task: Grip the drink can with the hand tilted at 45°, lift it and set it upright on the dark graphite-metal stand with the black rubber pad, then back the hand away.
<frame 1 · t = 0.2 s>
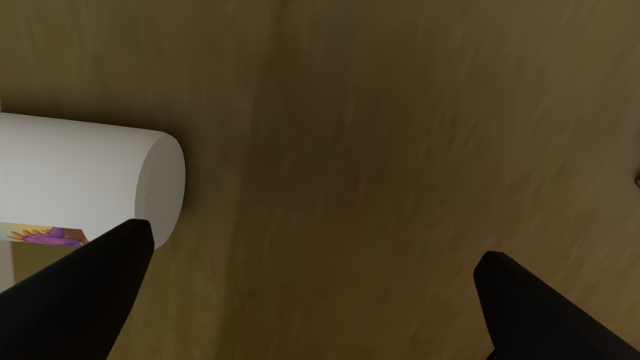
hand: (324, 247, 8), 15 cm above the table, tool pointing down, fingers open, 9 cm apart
milk bottle: (170, 192, 19), point 4 cm above the table
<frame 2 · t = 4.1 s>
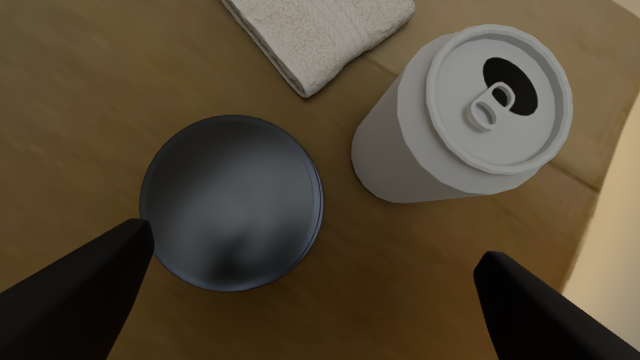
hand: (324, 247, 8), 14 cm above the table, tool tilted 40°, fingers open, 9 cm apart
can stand: (240, 202, 22), on the table
can: (394, 156, 24), on the table
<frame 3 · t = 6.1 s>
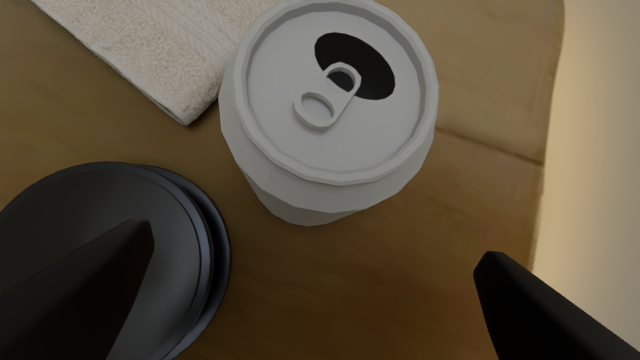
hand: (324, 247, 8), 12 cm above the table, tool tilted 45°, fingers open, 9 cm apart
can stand: (128, 264, 18), on the table
can: (307, 171, 20), on the table
washcloth: (156, 0, 22), on the table
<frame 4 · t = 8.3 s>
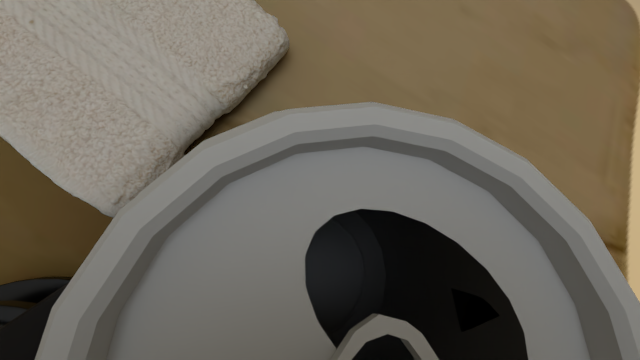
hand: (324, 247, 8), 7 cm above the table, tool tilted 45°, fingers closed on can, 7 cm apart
can: (303, 272, 14), on the table, touching gripper
washcloth: (92, 27, 16), on the table
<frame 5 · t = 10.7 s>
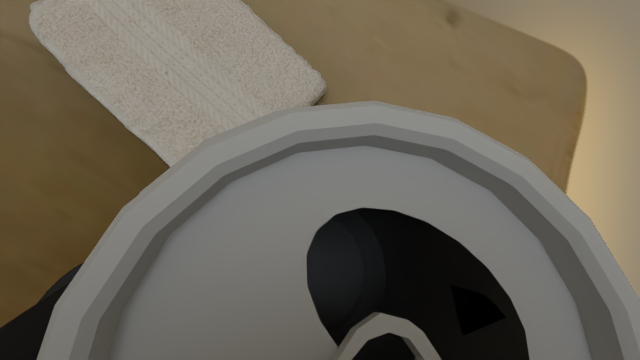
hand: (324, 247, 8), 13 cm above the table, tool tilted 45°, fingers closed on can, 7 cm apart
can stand: (154, 334, 19), on the table
can: (303, 272, 14), point 6 cm above the table, touching gripper
washcloth: (190, 69, 22), on the table
when the fingers open (10 cm above the table, at t = 13.6 s): can stays where it is, resting on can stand.
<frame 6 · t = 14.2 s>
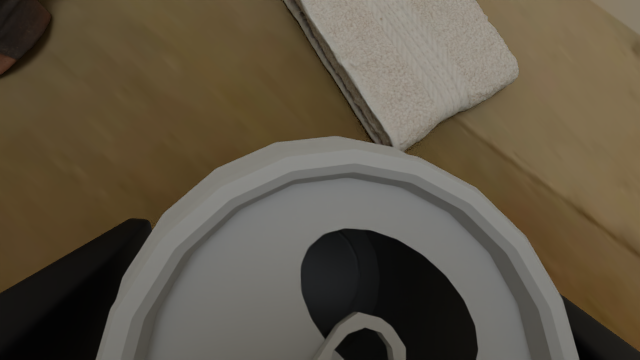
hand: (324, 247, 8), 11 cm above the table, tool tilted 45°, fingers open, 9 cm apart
can: (302, 274, 15), point 3 cm above the table, touching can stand
washcloth: (381, 26, 23), on the table
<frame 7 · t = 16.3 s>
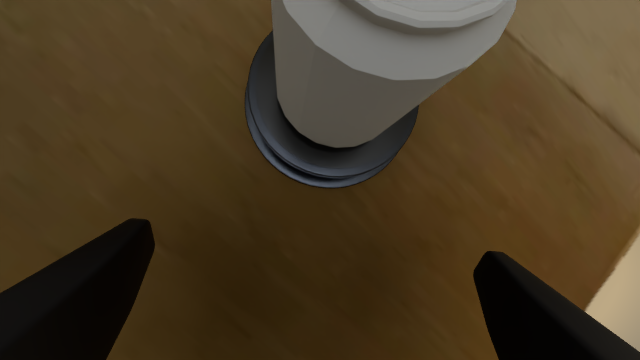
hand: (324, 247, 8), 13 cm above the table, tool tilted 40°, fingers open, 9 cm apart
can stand: (329, 107, 22), on the table
can: (336, 92, 19), point 3 cm above the table, touching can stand
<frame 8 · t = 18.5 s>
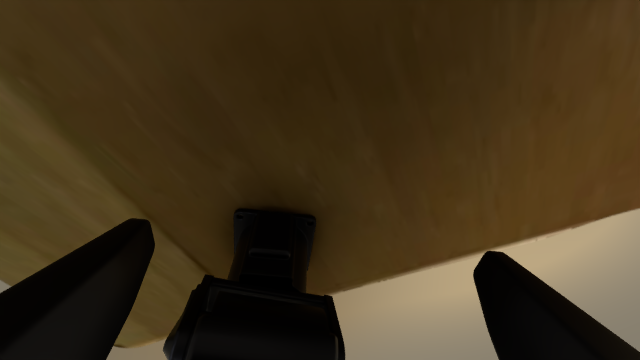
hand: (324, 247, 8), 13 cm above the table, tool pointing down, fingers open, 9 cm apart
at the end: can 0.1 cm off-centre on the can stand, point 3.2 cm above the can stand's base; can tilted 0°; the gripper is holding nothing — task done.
